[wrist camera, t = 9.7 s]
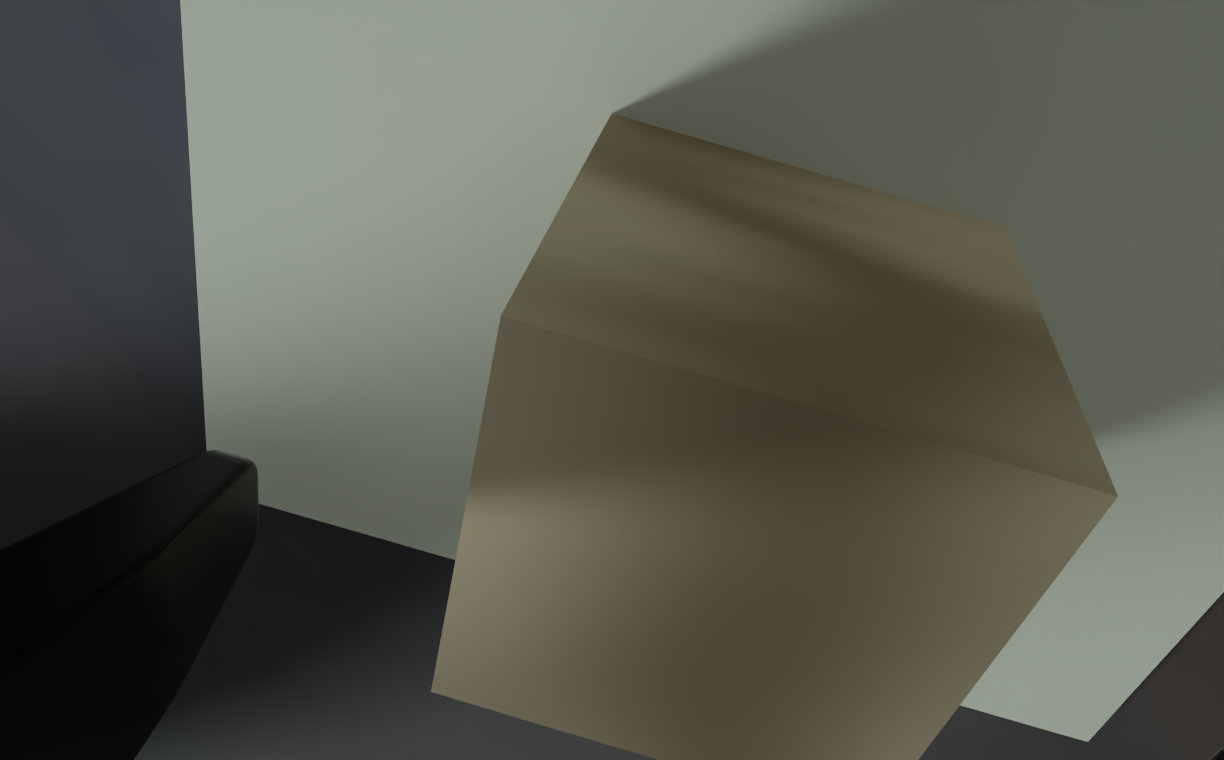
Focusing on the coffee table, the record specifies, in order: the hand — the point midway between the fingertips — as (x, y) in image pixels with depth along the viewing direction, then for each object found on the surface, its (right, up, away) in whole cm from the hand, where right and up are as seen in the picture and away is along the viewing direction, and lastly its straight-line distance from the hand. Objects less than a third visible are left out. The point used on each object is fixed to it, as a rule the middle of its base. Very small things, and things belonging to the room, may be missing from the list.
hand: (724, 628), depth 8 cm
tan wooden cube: (+1, +3, +4) cm, 5 cm away
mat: (+1, +3, +5) cm, 6 cm away
